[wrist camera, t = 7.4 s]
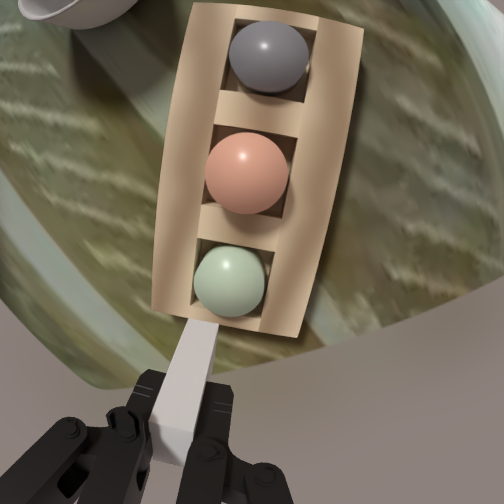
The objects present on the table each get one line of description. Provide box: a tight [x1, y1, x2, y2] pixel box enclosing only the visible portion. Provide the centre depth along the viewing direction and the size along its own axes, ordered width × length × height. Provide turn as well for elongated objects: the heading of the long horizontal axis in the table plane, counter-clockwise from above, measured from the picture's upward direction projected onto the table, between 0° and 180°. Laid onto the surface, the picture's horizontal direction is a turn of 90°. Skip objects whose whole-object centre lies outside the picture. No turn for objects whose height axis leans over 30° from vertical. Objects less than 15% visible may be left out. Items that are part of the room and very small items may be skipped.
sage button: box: [194, 242, 265, 317], centre depth 23 cm, size 5×5×3 cm
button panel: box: [151, 3, 364, 338], centre depth 21 cm, size 12×24×3 cm, turn 170°
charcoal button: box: [229, 21, 309, 97], centre depth 18 cm, size 5×5×3 cm
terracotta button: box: [205, 132, 288, 214], centre depth 20 cm, size 5×5×3 cm
